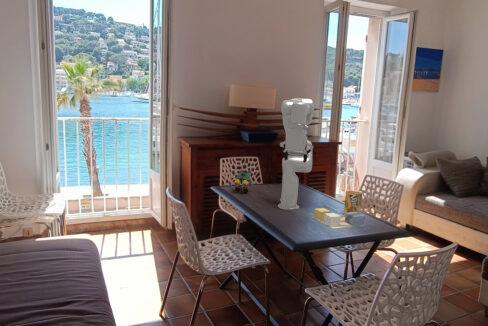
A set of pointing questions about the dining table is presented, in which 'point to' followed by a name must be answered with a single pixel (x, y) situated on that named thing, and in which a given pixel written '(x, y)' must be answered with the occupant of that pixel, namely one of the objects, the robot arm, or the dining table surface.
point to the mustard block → (320, 213)
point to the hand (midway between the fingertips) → (295, 161)
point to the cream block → (332, 219)
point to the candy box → (353, 201)
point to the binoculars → (245, 178)
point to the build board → (349, 220)
